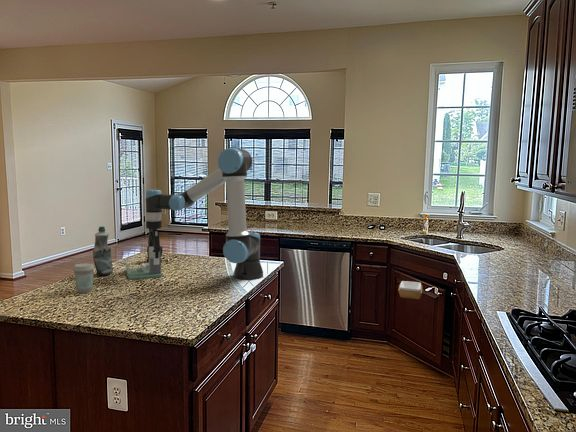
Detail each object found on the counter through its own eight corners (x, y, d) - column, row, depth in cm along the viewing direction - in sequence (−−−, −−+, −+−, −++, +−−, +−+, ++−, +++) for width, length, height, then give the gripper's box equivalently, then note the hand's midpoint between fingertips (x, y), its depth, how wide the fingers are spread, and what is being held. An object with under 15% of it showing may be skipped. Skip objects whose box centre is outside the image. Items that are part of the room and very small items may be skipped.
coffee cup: (72, 294, 181) (70, 267, 180) (76, 289, 189) (75, 263, 188) (93, 293, 183) (92, 266, 182) (97, 288, 192) (96, 262, 190)
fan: (157, 268, 226) (157, 263, 225) (145, 269, 223) (145, 264, 223) (155, 266, 231) (155, 261, 231) (144, 267, 228) (143, 261, 228)
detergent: (106, 271, 222) (105, 224, 220) (118, 272, 220) (117, 225, 218) (88, 277, 210) (86, 227, 207) (101, 278, 208) (99, 228, 205)
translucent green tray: (162, 276, 214) (162, 266, 213) (129, 280, 206) (129, 269, 206) (155, 268, 231) (155, 258, 231) (124, 271, 224) (124, 261, 223)
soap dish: (399, 290, 196) (400, 280, 195) (422, 293, 192) (422, 282, 192) (397, 298, 184) (398, 287, 183) (421, 300, 181) (422, 289, 180)
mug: (156, 264, 240) (156, 245, 238) (142, 263, 242) (142, 244, 241) (168, 260, 251) (167, 241, 250) (154, 259, 254) (154, 241, 252)
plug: (160, 273, 216) (160, 258, 215) (150, 274, 213) (150, 259, 213) (159, 271, 219) (158, 256, 218) (148, 272, 217) (148, 257, 216)
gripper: (166, 223, 204) (166, 266, 207) (156, 217, 226) (156, 256, 229) (150, 223, 201) (150, 267, 203) (142, 217, 223) (142, 257, 225)
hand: (154, 261), depth 216 cm, fingers open, 13 cm apart
